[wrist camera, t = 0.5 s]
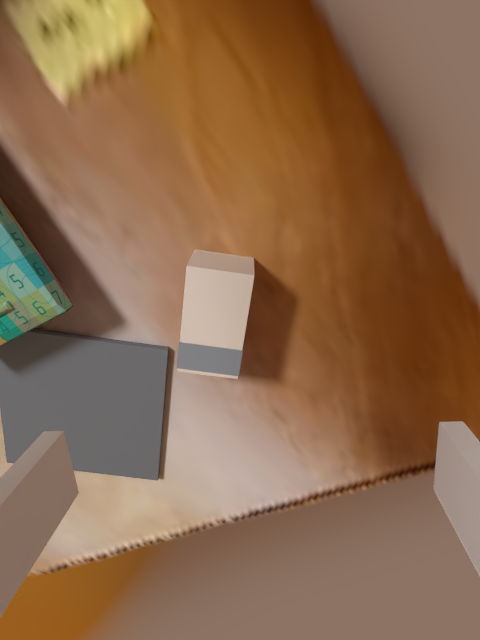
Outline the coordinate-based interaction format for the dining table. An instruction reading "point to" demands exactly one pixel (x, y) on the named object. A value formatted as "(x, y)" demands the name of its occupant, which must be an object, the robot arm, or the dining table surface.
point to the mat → (86, 400)
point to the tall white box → (215, 313)
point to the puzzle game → (25, 283)
